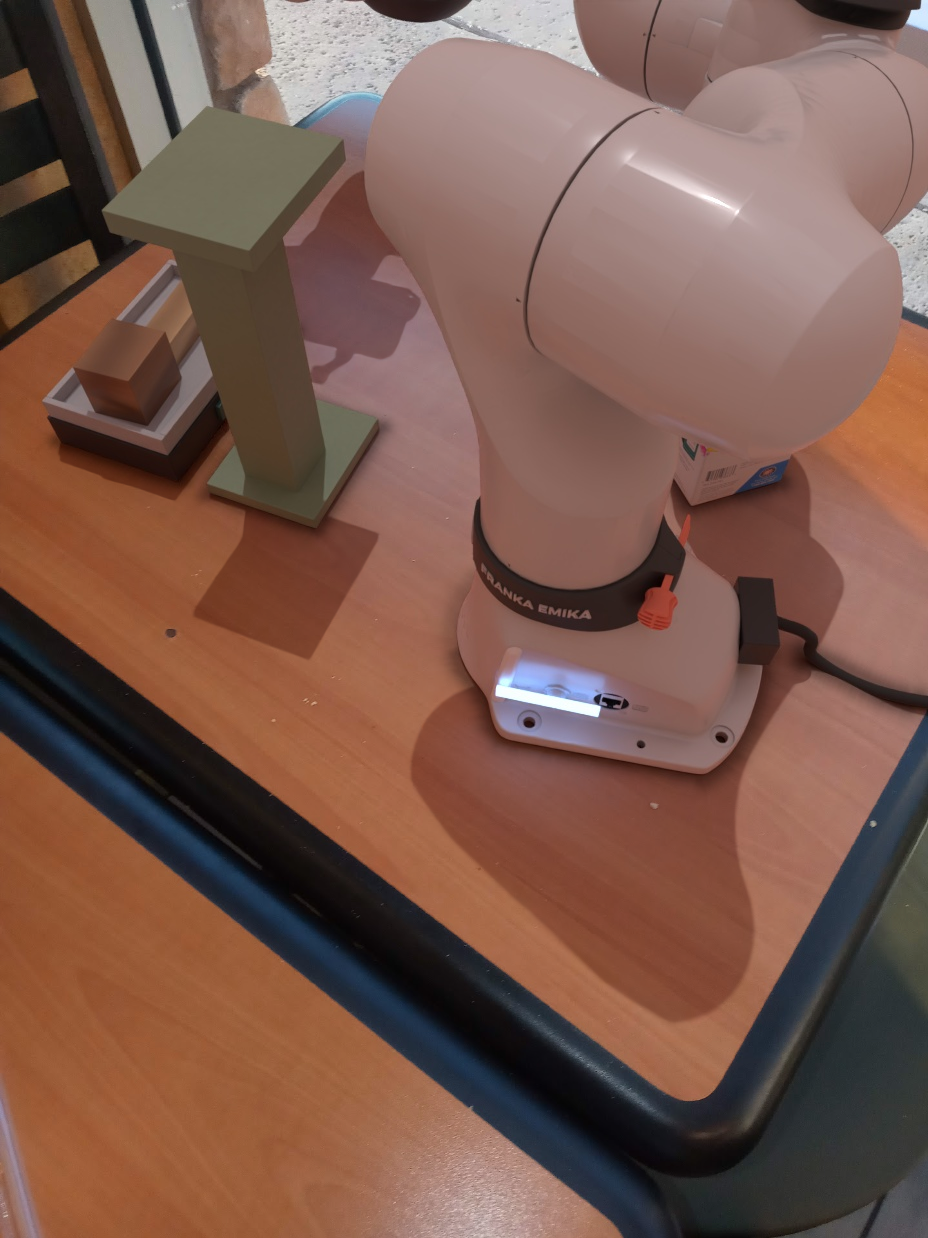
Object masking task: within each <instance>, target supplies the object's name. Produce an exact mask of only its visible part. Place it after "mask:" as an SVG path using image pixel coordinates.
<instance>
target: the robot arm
mask: <svg viewBox="0 0 928 1238" xmlns="http://www.w3.org/2000/svg"><path fill="white" fill-rule="evenodd" d="M284 1H286V2H289V3H294V4H301V3H308V2H309V1H311V0H284ZM343 1H344V2H350V3H351V2H363V3H364V4H365V5H366V6H368V7H369V8H370V9H371V10H372V11H374V12H376V13H378V14H380V15H382V16H384V17H387V18H390V19H393V20H397V21H401V22H407V23H415V24H427V23H434V22H439V21H443V20H447V19H449V18H451V17H453V16H454V15H456V14H458V13H459V12H460V11H462V10H463V9H464V8H466V7H467V6H468V5H469V4H471V3H472V2H473V0H343ZM572 5H573V15H574V21H575V25H576V29H577V32H578V36H579V40H580V42H581V45H582V47H583V50H584V52H585V54H586V57H587V58H588V60H589V62H590V63H591V66H592V67H593V68H594V70H595V71H596V72H597V73H598V75H600V76H598V75H597V74H594V73H592V72H590V71H588V70H586V69H584V68H582V67H579V66H577V65H576V64H573V63H571V62H569V61H568V60H565V59H563V58H562V57H559V56H557V55H554V54H553V53H550V52H548V51H544V50H540V49H534V48H529V47H525V46H519V45H513V44H509V43H503V42H497V41H490V40H483V39H475V38H469V37H457V36H456V37H450V38H445V39H442V40H438V41H435V42H434V43H432V44H430V45H428V46H427V47H425V48H424V49H422V50H421V51H419V53H417V54H416V55H415V56H413V57H412V59H410V60H409V62H407V63H406V64H405V66H404V67H403V68H401V70H399V72H398V73H397V75H396V76H395V77H394V79H393V80H392V81H391V83H390V84H389V86H388V88H387V89H386V91H385V92H384V94H383V96H382V97H381V100H380V102H379V104H378V106H377V108H376V110H375V113H374V116H373V118H372V120H371V121H372V122H371V125H370V128H369V130H368V131H369V132H368V136H367V142H366V145H365V152H364V153H365V154H364V170H363V171H364V172H363V173H364V178H363V180H364V189H365V196H366V197H365V198H366V200H367V205H368V207H369V210H370V213H371V215H372V217H373V220H374V221H375V223H376V224H377V226H378V227H379V229H380V230H381V231H382V233H383V234H384V235H385V237H386V238H387V239H388V241H389V242H390V243H391V244H392V246H393V248H394V249H395V250H396V252H397V254H398V255H399V256H400V258H401V259H402V261H403V262H404V263H405V265H406V266H407V268H408V270H409V272H410V273H411V275H412V277H413V278H414V281H415V282H416V284H417V285H418V287H419V288H420V290H421V292H422V294H423V296H424V298H425V300H426V303H427V304H428V307H429V308H430V310H431V313H432V315H433V316H434V319H435V322H436V324H437V326H438V328H439V330H440V332H441V335H442V338H443V339H444V343H445V346H446V347H447V350H448V352H449V355H450V357H451V360H452V363H453V365H454V367H455V368H454V369H455V371H456V373H457V376H458V378H459V382H460V384H461V386H462V388H463V391H464V393H465V394H464V395H465V397H466V400H467V402H468V405H469V409H470V413H471V416H472V419H473V422H474V426H475V427H474V428H475V431H476V435H477V442H478V444H477V445H478V459H479V460H478V462H479V463H478V464H479V488H480V489H479V492H480V495H479V497H478V499H476V501H475V506H474V511H473V516H472V523H471V538H470V539H471V541H470V542H471V545H472V560H473V562H474V566H475V573H474V577H473V581H472V584H471V588H470V590H469V591H468V593H467V595H466V596H465V598H464V600H463V602H462V604H461V607H460V610H459V613H458V618H457V625H456V640H457V647H458V651H459V654H460V657H461V661H462V662H463V664H464V667H465V669H466V671H467V673H468V674H469V675H470V677H471V678H472V680H473V681H474V682H475V683H476V684H477V686H478V687H479V689H480V690H481V691H482V693H483V694H484V696H485V698H486V700H487V702H488V707H489V712H490V716H491V720H492V724H493V725H494V728H495V731H496V732H497V733H498V735H500V736H501V737H502V738H503V739H506V740H508V741H513V742H519V743H523V744H529V745H535V746H540V747H546V748H551V749H556V750H562V751H567V752H572V753H578V754H585V755H590V756H595V757H600V758H606V759H611V760H618V761H623V762H628V763H632V764H633V763H634V764H639V765H644V766H650V767H654V768H661V769H666V770H670V771H671V770H672V771H678V772H682V773H689V774H695V775H706V774H708V773H710V772H711V771H713V770H714V769H716V768H718V766H719V765H721V764H722V763H723V762H724V761H725V760H726V759H727V758H728V757H729V756H730V755H731V754H732V752H734V749H735V748H736V746H737V745H738V743H739V741H741V739H742V737H743V735H744V733H745V732H746V728H747V727H748V724H749V722H750V720H751V716H752V713H753V710H754V707H755V704H756V701H757V698H758V694H759V690H760V685H761V681H762V674H763V666H766V667H768V666H770V664H771V663H772V661H773V659H774V658H775V656H776V654H777V652H778V651H779V649H780V647H781V638H780V631H783V632H785V633H787V634H788V633H789V634H791V635H794V636H797V637H799V638H801V639H802V640H804V644H803V649H802V650H803V655H804V657H805V659H806V660H807V661H808V662H810V663H811V664H812V665H813V666H815V667H816V668H818V669H819V670H821V671H822V672H823V673H826V674H829V675H831V676H833V677H835V678H837V679H838V680H842V681H843V682H845V683H847V684H849V685H851V686H852V687H855V688H857V689H859V690H861V691H863V692H865V693H867V694H870V695H871V696H873V697H877V698H880V699H883V700H886V701H891V702H893V703H899V704H904V705H908V706H914V707H919V708H920V707H922V708H928V695H925V694H920V693H919V694H918V693H914V692H913V693H912V692H907V691H902V690H898V689H894V688H890V687H886V686H883V685H879V684H876V683H875V682H871V681H869V680H866V679H863V678H861V677H858V676H856V675H854V674H851V673H849V671H848V672H847V671H846V670H844V669H842V668H840V667H839V666H837V665H835V664H833V663H832V662H831V661H830V660H828V659H827V658H826V657H824V656H823V655H821V654H820V653H819V652H817V648H818V646H819V637H818V635H817V633H816V632H814V631H813V630H812V629H811V628H810V627H808V626H806V625H804V624H802V623H800V622H797V621H794V620H792V619H787V618H785V617H782V616H779V615H778V611H777V602H776V593H775V586H774V585H775V584H774V578H771V577H755V576H741V575H740V576H737V577H736V580H735V582H734V585H733V586H732V584H731V583H730V582H729V581H728V580H727V579H725V578H724V577H723V576H722V575H720V574H719V573H717V572H716V571H715V570H713V568H711V567H710V566H708V565H707V564H706V563H704V562H703V561H702V560H700V559H699V558H698V557H696V555H694V554H692V547H691V545H690V543H689V542H688V541H687V540H688V537H689V534H690V531H691V515H690V514H689V513H688V514H687V515H686V517H685V520H684V522H683V525H682V528H681V530H680V534H679V535H676V534H675V533H674V532H673V531H672V529H671V527H670V525H669V524H668V522H667V519H666V516H665V514H664V513H665V511H666V507H667V502H668V499H669V495H670V493H671V489H672V484H673V481H674V475H675V472H676V468H677V465H678V460H679V450H680V442H679V436H680V437H682V438H685V439H687V440H690V441H692V442H695V443H697V444H700V445H702V446H705V447H708V448H711V449H714V450H716V451H719V452H722V453H725V454H728V455H730V456H733V457H736V458H739V459H742V460H744V461H747V462H750V463H760V462H765V461H770V460H774V459H777V458H780V457H783V456H786V455H790V454H792V455H793V454H794V453H797V452H800V451H802V450H804V449H806V448H808V447H810V446H811V445H813V444H815V443H817V442H819V441H820V440H822V439H824V438H825V437H826V436H828V435H829V434H831V433H832V432H834V430H836V429H837V428H838V427H840V426H841V425H843V424H844V422H846V420H847V419H849V418H850V417H851V416H852V415H853V414H854V413H855V412H856V411H857V410H858V409H859V408H860V407H861V405H862V404H863V403H864V402H865V401H866V399H867V398H868V397H869V395H870V394H871V393H872V391H873V390H874V388H875V387H876V385H877V383H878V382H879V381H880V379H881V377H882V376H883V374H884V372H885V370H886V368H887V366H888V363H889V361H890V359H891V356H892V354H893V352H894V349H895V346H896V342H897V339H898V336H899V332H900V329H901V323H902V317H903V316H902V315H903V307H904V283H903V273H902V267H901V263H900V262H901V261H900V257H899V254H898V251H897V249H896V247H895V246H894V245H893V244H892V243H891V242H889V241H888V239H887V238H886V237H884V236H885V235H886V234H888V233H889V232H890V231H891V230H892V229H894V228H895V227H896V226H897V225H898V224H900V222H901V221H903V220H904V219H905V218H906V217H907V216H909V214H910V213H911V212H912V211H913V210H914V209H915V207H917V205H918V204H919V203H920V202H921V201H922V200H923V199H924V198H925V196H926V195H927V194H928V67H926V66H925V65H924V64H922V63H921V62H919V61H917V60H916V59H913V58H911V57H908V56H906V55H903V54H901V53H898V52H896V48H897V45H898V43H899V40H900V37H901V34H902V31H903V29H904V27H905V25H906V24H907V23H908V20H909V18H910V15H911V13H912V11H918V10H920V9H922V0H572ZM673 110H675V111H673ZM676 111H677V112H676ZM679 112H681V114H680V113H679ZM526 722H531V723H533V725H534V726H532V727H526V725H525V723H526ZM716 737H721V738H723V739H724V741H725V742H720V741H718V740H717V738H716ZM640 747H641V748H640Z"/></svg>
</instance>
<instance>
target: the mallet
mask: <svg viewBox="0 0 928 1238" xmlns="http://www.w3.org/2000/svg"><path fill="white" fill-rule="evenodd" d="M199 336H200V334H199V331H198V328H197V325H196V322H195V319H194V316H193V313H192V310H191V307H190V304H189V301H188V297H187V294H186V291H185V288H184V285H183V282H182V280H181V281H180V283H179V284H178V285H177V287H176V288H175V289H174V290H173V292H172V293H171V294H170V296H169V297H168V298H167V300H166V301H165V302H164V304H163V305H162V306H161V307H160V309H159V310H158V311H157V313H156V314H155V315H154V317H153V318H152V319H151V321H150V322H149V323H148V324H147V326H146V327H145V326H141V325H137V324H133V323H129V322H125V321H120V320H116V318H111V319H109V321H108V323H106V324H105V326H104V327H103V328H102V330H101V331H100V332H99V334H97V336H96V337H95V338H94V339H93V341H92V342H91V343H90V344H89V346H88V347H87V348H86V350H85V351H84V352H83V353H82V354H81V356H80V357H79V359H78V360H77V361H76V362H75V363H74V364H73V365H72V367H73V369H74V371H75V373H76V375H77V377H78V379H79V381H80V383H81V385H82V387H83V389H84V391H85V393H86V395H87V397H88V399H89V401H90V403H91V405H92V407H93V409H94V411H95V412H96V413H100V414H103V415H107V416H111V417H115V418H119V419H122V420H126V421H130V422H134V423H138V424H141V425H145V426H148V425H149V423H150V422H151V421H152V419H153V418H154V416H155V415H156V413H157V412H158V411H159V409H160V408H161V406H162V405H163V404H164V402H165V401H166V399H167V398H168V396H169V395H170V394H171V392H172V391H173V389H174V388H175V386H176V385H177V384H178V382H179V381H180V379H181V378H182V376H181V373H180V370H179V368H178V365H179V364H180V362H181V361H182V359H183V358H184V357H185V355H186V354H187V352H188V351H189V350H190V348H191V347H192V345H193V344H194V343H195V341H196V340H197V338H198V337H199Z"/></svg>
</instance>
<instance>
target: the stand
mask: <svg viewBox="0 0 928 1238" xmlns="http://www.w3.org/2000/svg"><path fill="white" fill-rule="evenodd" d="M346 161H347V158H346V149H345V141H344V137H339V136H335V135H331V134H327V133H322V132H318V131H314V130H310V129H306V128H301V127H297V126H293V125H289V124H285V123H280V122H277V121H271V120H268V119H264V118H260V117H256V116H252V115H248V114H247V115H246V114H242V113H238V112H235V111H230V110H226V109H222V108H218V107H214V106H209V105H206V106H205V107H204V108H203V109H202V110H201V111H200V112H199V113H198V114H197V115H196V116H195V117H194V118H193V119H192V120H191V121H190V122H189V123H188V124H187V125H186V126H184V128H182V130H180V131H179V133H177V134H176V136H175V137H174V138H172V139H171V141H170V142H169V143H168V144H166V146H164V148H163V149H162V150H161V151H159V153H158V154H157V155H155V157H154V158H153V159H152V160H150V162H149V163H148V164H146V165H145V166H144V167H143V169H142V170H141V171H139V172H138V173H137V175H136V176H134V177H133V179H131V181H130V182H128V184H126V186H124V187H123V189H121V190H120V191H119V192H118V194H116V195H115V196H114V198H112V199H111V200H110V201H109V202H108V203H107V204H106V205H105V206H104V207H103V208H102V209H101V213H102V215H103V218H104V221H105V224H106V226H107V229H108V232H109V233H111V234H115V235H117V236H121V237H125V238H129V239H132V240H135V241H139V242H142V243H146V244H149V245H153V246H157V247H161V248H164V249H167V250H171V251H172V255H173V257H174V261H176V264H177V267H178V270H179V273H180V276H181V279H182V282H183V285H184V288H185V291H186V294H187V297H188V301H189V304H190V307H191V310H192V313H193V316H194V319H195V322H196V325H197V328H198V331H199V334H200V338H201V341H202V344H203V347H204V350H205V353H206V356H207V359H208V362H209V365H210V368H211V371H212V375H213V378H214V381H215V384H216V387H217V390H218V393H219V396H220V399H221V402H222V405H223V408H224V412H225V415H226V421H227V424H228V427H229V430H230V433H231V436H232V439H233V442H234V444H233V446H232V448H230V451H229V452H228V453H227V455H226V456H225V457H224V459H222V461H221V463H220V464H219V465H218V466H217V468H216V470H215V471H214V472H213V474H212V475H211V476H210V477H209V479H208V481H207V482H206V486H207V489H208V491H209V493H210V494H212V495H216V496H219V497H221V498H223V499H224V498H225V499H228V500H230V501H234V502H236V503H239V504H242V505H245V506H248V507H251V508H254V509H257V510H260V511H262V512H266V513H269V514H272V515H274V516H278V517H280V518H283V519H287V520H289V521H292V522H295V523H298V524H301V525H304V526H307V527H310V528H313V529H315V530H316V529H317V528H318V527H319V526H320V524H321V522H322V520H323V519H324V517H325V516H326V514H327V512H328V511H329V509H330V507H331V506H332V504H333V502H334V501H335V499H336V498H337V496H338V495H339V493H340V491H341V490H342V488H343V487H344V485H345V483H346V482H347V480H348V479H349V477H350V475H351V474H352V473H353V471H354V470H355V467H356V466H357V464H358V462H359V461H360V459H361V458H362V456H363V455H364V453H365V452H366V450H367V448H368V446H369V445H370V443H371V442H372V440H373V439H374V437H375V435H376V434H377V433H378V430H380V422H379V417H376V416H373V415H369V414H366V413H363V412H359V411H357V410H354V409H351V408H348V407H347V408H346V407H344V406H340V405H337V404H334V403H331V402H327V401H325V400H321V399H317V398H316V394H315V390H314V385H313V379H312V375H311V370H310V369H311V368H310V365H309V364H310V363H309V360H308V355H307V350H306V345H305V341H304V340H305V339H304V335H303V330H302V325H301V320H300V316H299V311H298V305H297V300H296V295H295V291H294V286H293V280H292V276H291V271H290V267H289V262H288V255H287V251H286V246H285V241H284V237H285V236H286V234H287V233H288V232H289V231H290V230H291V229H292V227H293V226H294V225H295V224H296V223H297V221H298V220H299V219H300V218H301V216H302V215H303V214H304V213H305V211H306V210H307V209H308V207H309V206H310V205H311V204H312V203H313V202H314V201H315V199H316V198H317V197H318V195H320V193H321V192H322V190H324V188H325V187H326V186H327V184H329V182H330V181H331V180H332V178H334V176H335V175H336V174H337V172H338V171H339V170H340V169H341V167H342V166H343V165H344V164H345V162H346Z"/></svg>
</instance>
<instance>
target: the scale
mask: <svg viewBox="0 0 928 1238" xmlns="http://www.w3.org/2000/svg"><path fill="white" fill-rule="evenodd" d="M181 280H182V279H181V276H180V273H179V270H178V267H177V264H176V260H175V259H168V260H167V261H166V263H165V264H164V265H163V266H162V267H161V268H160V269H159V270H158V271H157V273H156V274H155V275H154V276H153V277H152V278H151V279H150V280H149V281H148V283H146V285H145V286H144V287H143V288H142V289H141V290H140V291H139V292H138V294H137V295H136V296H135V297H134V298H133V299H132V300H131V302H130V303H129V304H127V306H126V307H125V308H124V309H123V310H122V311H121V313H120V314H119V315H118V316H117V317H116V318H115V319H116V320H120V321H125V322H129V323H133V324H137V325H141V326H145V327H146V326H147V324H148V323H149V322H150V321H151V319H152V318H153V317H154V315H155V314H156V313H157V311H158V310H159V309H160V307H161V306H162V305H163V304H164V302H165V301H166V300H167V298H168V297H169V296H170V294H171V293H172V292H173V290H174V289H175V288H176V287H177V285H178V284H179V283H180V281H181ZM178 368H179V370H180V373H181V376H182V378H181V379H180V381H179V382H178V384H177V385H176V386H175V388H174V389H173V391H172V392H171V394H170V395H169V396H168V398H167V399H166V401H165V402H164V404H163V405H162V406H161V408H160V409H159V411H158V412H157V413H156V415H155V416H154V418H153V419H152V421H151V422H150V423H149V425H148V426H145V425H141V424H138V423H134V422H130V421H126V420H122V419H119V418H115V417H111V416H107V415H103V414H100V413H96V412H95V411H94V409H93V407H92V405H91V403H90V401H89V399H88V397H87V395H86V393H85V391H84V389H83V387H82V385H81V383H80V381H79V379H78V377H77V375H76V373H75V371H74V369H73V366H72V367H71V368H70V369H69V370H68V371H67V372H66V373H65V374H64V376H63V377H62V378H61V379H60V380H59V381H58V382H57V383H56V384H55V386H54V387H53V388H52V389H51V390H50V391H49V392H48V394H46V396H44V398H43V399H42V400H41V402H42V404H43V406H44V408H45V410H46V411H47V414H48V415H47V417H46V419H47V421H48V422H49V424H50V425H51V427H52V429H53V431H54V433H55V435H56V436H57V438H58V440H59V442H60V443H63V444H65V445H68V446H72V447H75V448H77V449H80V450H83V451H87V452H89V453H92V454H95V455H98V456H101V457H104V458H107V459H110V460H112V461H115V462H119V463H121V464H124V465H128V466H131V467H134V468H136V469H139V470H142V471H145V472H148V473H151V474H153V475H157V476H159V477H163V478H166V479H169V480H172V481H174V482H177V483H179V482H180V481H181V479H182V478H183V477H184V476H185V474H186V473H187V472H188V470H189V469H190V468H191V466H192V465H193V464H194V462H195V461H196V460H197V458H198V457H199V455H200V454H201V453H202V452H203V450H204V449H205V448H206V446H207V445H208V444H209V442H210V441H211V440H212V438H214V435H215V434H216V433H217V432H218V430H219V429H220V427H222V425H223V424H224V422H225V420H227V418H226V415H225V412H224V408H223V405H222V402H221V399H220V396H219V393H218V390H217V387H216V384H215V381H214V378H213V375H212V371H211V368H210V365H209V362H208V359H207V356H206V353H205V350H204V347H203V344H202V341H201V338H200V336H199V337H198V338H197V340H196V341H195V343H194V344H193V345H192V347H191V348H190V350H189V351H188V352H187V354H186V355H185V357H184V358H183V359H182V361H181V362H180V364H179V365H178Z"/></svg>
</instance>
